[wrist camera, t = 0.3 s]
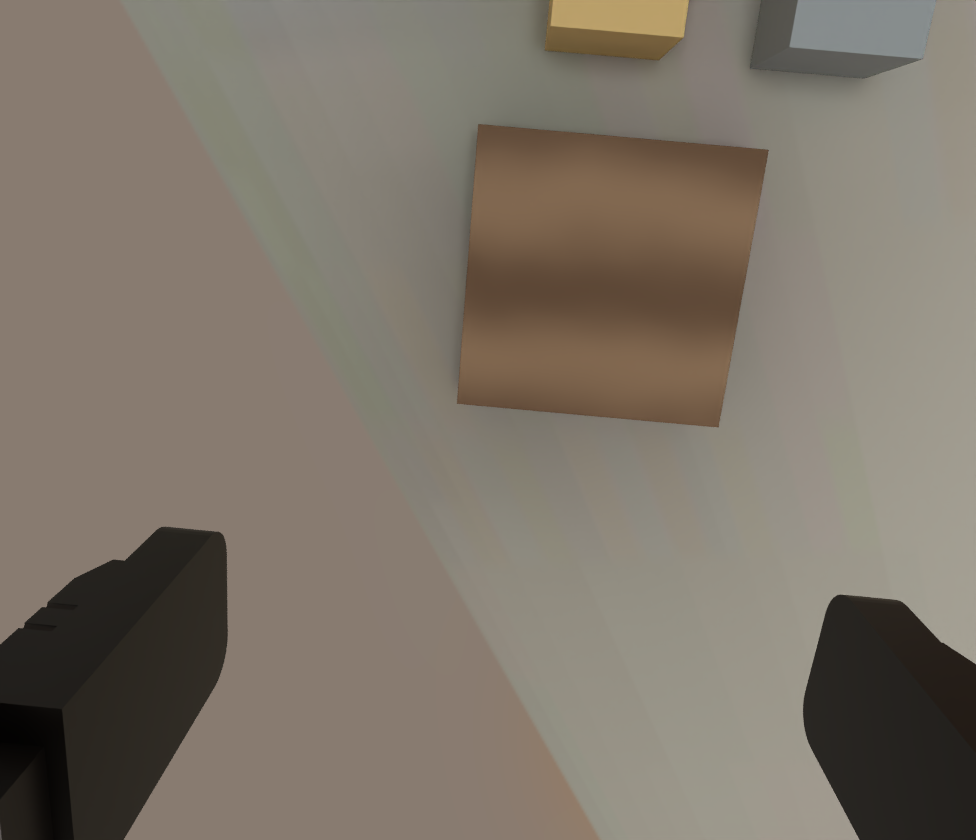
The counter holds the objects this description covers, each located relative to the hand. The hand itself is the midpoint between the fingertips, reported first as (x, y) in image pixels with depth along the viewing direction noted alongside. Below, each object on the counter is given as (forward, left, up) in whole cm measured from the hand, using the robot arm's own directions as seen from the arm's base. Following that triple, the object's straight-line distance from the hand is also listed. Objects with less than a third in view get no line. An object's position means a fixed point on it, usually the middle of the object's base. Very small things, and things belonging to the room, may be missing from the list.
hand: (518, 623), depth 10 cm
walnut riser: (-2, +4, -27) cm, 28 cm away
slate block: (-14, +12, -28) cm, 33 cm away
